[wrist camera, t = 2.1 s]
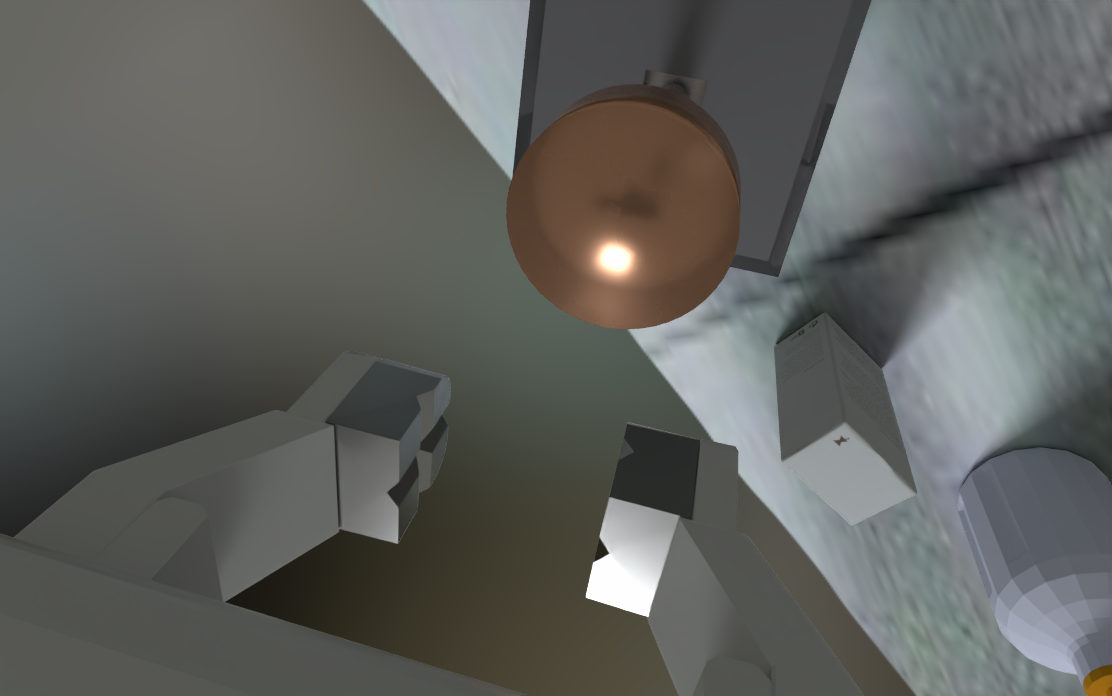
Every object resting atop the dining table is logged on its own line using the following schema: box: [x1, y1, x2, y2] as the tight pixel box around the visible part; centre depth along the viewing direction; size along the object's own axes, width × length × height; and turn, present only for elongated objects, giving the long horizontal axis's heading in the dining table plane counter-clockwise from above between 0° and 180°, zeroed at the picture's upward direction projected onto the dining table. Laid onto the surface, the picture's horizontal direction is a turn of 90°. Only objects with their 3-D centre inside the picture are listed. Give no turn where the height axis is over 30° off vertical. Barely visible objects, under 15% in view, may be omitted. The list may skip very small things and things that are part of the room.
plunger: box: [506, 70, 741, 329], centre depth 23 cm, size 10×10×15 cm
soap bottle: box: [957, 447, 1112, 696], centre depth 38 cm, size 9×9×25 cm
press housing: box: [513, 0, 871, 277], centre depth 34 cm, size 12×12×14 cm
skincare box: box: [774, 312, 917, 526], centre depth 42 cm, size 6×4×12 cm
